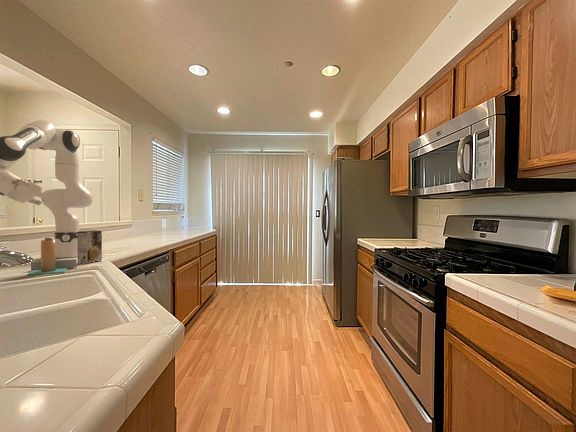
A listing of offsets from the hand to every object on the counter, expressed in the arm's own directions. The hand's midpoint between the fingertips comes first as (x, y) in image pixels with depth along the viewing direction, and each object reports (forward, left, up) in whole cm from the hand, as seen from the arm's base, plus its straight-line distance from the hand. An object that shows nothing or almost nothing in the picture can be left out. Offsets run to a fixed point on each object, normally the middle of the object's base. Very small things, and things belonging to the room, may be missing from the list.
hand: (44, 202), depth 138 cm
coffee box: (-9, +17, -30) cm, 36 cm away
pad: (+14, +4, -30) cm, 33 cm away
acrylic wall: (+7, +5, -30) cm, 31 cm away
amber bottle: (+14, +4, -30) cm, 33 cm away
